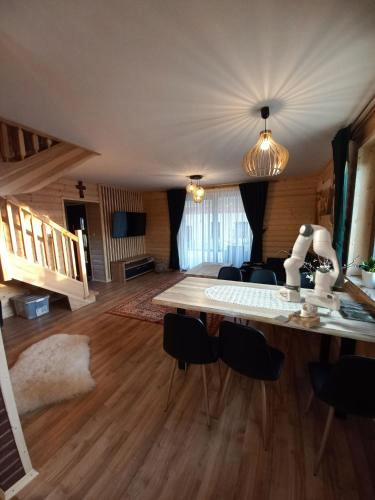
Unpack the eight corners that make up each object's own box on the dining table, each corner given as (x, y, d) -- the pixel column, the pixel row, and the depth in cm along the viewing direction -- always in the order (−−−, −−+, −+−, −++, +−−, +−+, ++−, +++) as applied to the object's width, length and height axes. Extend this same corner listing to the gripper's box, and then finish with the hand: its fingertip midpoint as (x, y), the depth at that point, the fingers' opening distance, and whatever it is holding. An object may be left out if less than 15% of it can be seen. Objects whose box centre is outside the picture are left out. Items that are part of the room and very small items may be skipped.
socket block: (288, 320, 143) (288, 313, 142) (299, 315, 150) (299, 308, 149) (308, 328, 131) (309, 321, 130) (319, 322, 138) (320, 315, 137)
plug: (296, 320, 141) (297, 308, 140) (301, 318, 145) (302, 306, 144) (305, 324, 136) (306, 311, 135) (311, 322, 139) (311, 309, 138)
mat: (274, 318, 146) (274, 317, 145) (281, 315, 150) (281, 315, 150) (284, 322, 139) (284, 321, 139) (291, 319, 143) (291, 319, 143)
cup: (317, 316, 148) (318, 304, 147) (301, 313, 153) (302, 302, 152) (317, 312, 154) (317, 301, 153) (302, 310, 159) (302, 299, 158)
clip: (295, 315, 138) (295, 311, 137) (291, 314, 140) (291, 310, 139) (307, 310, 145) (307, 306, 145) (303, 309, 147) (304, 305, 147)
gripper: (303, 290, 142) (303, 308, 144) (337, 297, 125) (336, 319, 126) (308, 288, 146) (307, 306, 147) (341, 295, 128) (340, 316, 130)
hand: (321, 312), depth 136 cm, fingers open, 8 cm apart
